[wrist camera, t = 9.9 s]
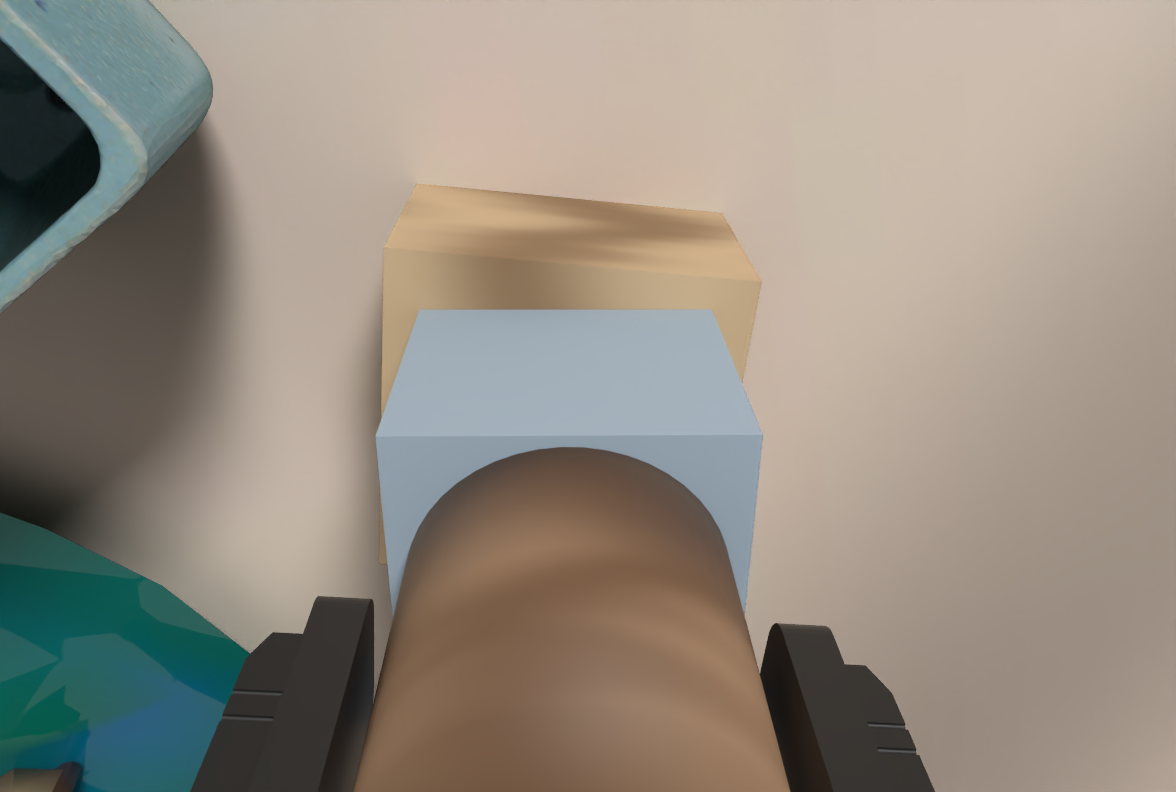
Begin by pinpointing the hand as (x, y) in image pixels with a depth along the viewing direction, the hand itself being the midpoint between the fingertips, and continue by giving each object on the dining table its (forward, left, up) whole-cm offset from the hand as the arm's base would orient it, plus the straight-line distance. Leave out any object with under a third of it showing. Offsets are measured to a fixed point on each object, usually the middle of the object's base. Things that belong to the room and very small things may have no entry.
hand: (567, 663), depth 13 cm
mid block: (0, 0, -7) cm, 7 cm away
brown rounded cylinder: (0, 0, -2) cm, 2 cm away
